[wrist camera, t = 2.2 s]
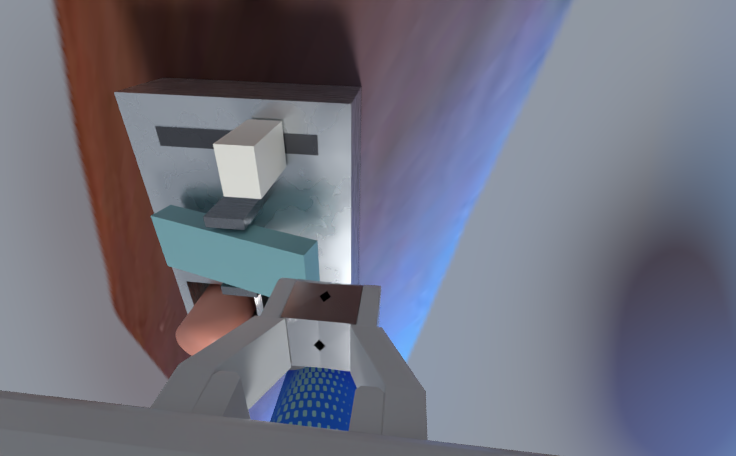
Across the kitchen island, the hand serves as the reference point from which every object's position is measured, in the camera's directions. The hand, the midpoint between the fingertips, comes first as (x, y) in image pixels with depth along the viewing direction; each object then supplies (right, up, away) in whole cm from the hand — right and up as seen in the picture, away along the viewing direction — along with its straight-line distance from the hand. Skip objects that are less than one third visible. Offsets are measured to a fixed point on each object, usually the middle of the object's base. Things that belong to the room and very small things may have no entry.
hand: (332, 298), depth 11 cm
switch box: (-7, +3, +20) cm, 21 cm away
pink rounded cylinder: (-10, -3, +21) cm, 24 cm away
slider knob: (-5, +7, +11) cm, 14 cm away
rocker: (-7, 0, +12) cm, 14 cm away
